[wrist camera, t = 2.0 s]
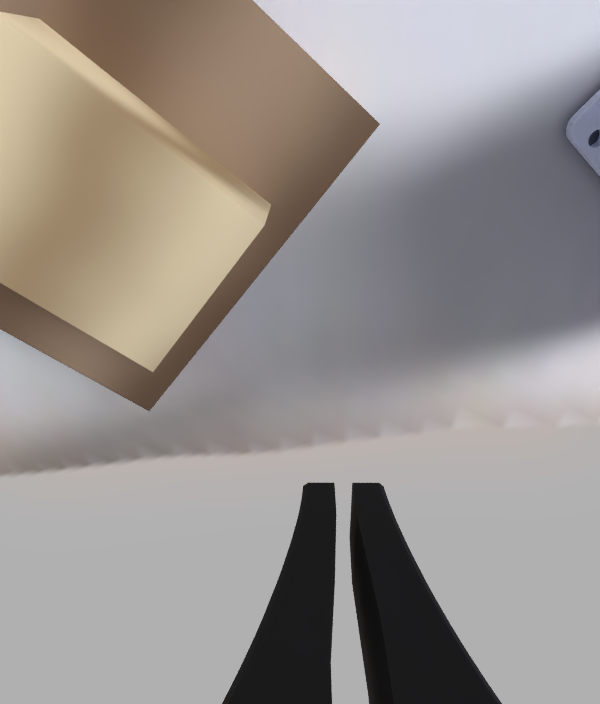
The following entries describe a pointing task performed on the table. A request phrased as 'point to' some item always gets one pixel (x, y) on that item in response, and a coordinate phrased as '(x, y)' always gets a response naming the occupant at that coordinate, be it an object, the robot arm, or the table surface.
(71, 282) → the birch tile
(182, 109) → the block
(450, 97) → the table surface
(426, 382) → the table surface
